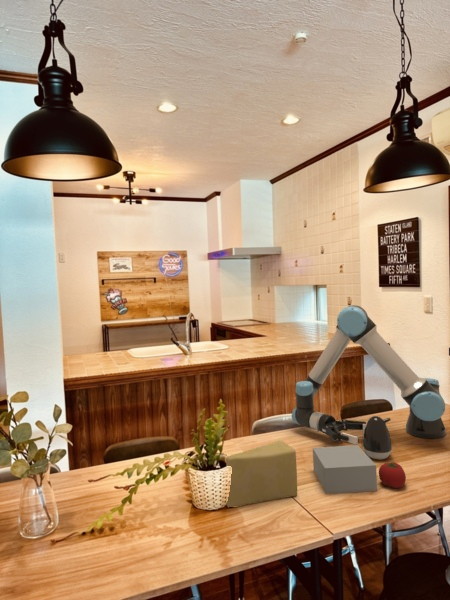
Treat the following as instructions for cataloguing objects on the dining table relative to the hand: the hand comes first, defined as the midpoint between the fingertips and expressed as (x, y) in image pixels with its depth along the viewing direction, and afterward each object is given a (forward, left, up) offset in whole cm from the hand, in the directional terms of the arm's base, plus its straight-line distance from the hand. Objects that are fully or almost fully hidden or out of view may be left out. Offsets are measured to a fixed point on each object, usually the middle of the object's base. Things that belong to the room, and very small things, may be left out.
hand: (367, 436), depth 149 cm
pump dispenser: (-2, +3, -7) cm, 8 cm away
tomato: (+1, +24, -7) cm, 25 cm away
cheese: (+44, +27, -7) cm, 52 cm away
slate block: (+16, +19, -7) cm, 25 cm away
